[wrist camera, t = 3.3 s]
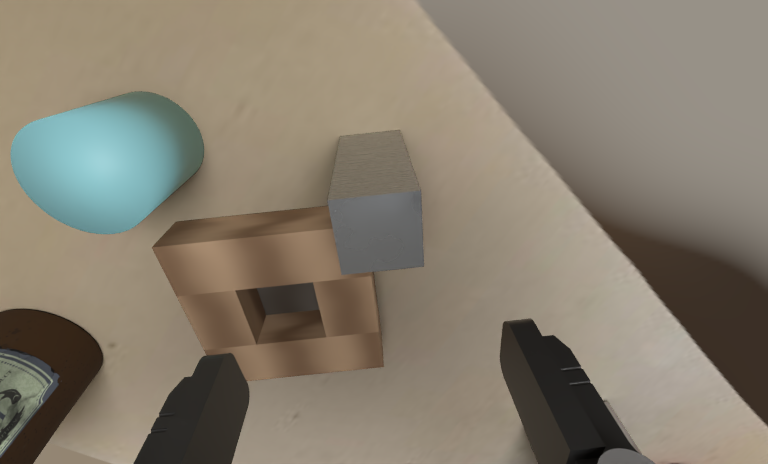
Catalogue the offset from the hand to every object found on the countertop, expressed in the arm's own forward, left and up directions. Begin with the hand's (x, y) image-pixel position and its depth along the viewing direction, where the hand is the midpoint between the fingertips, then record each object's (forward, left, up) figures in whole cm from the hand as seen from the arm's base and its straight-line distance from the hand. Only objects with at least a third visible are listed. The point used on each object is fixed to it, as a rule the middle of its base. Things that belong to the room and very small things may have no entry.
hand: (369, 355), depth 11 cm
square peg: (-1, 0, -17) cm, 17 cm away
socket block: (+7, +10, -17) cm, 21 cm away
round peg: (+13, -3, -17) cm, 22 cm away
